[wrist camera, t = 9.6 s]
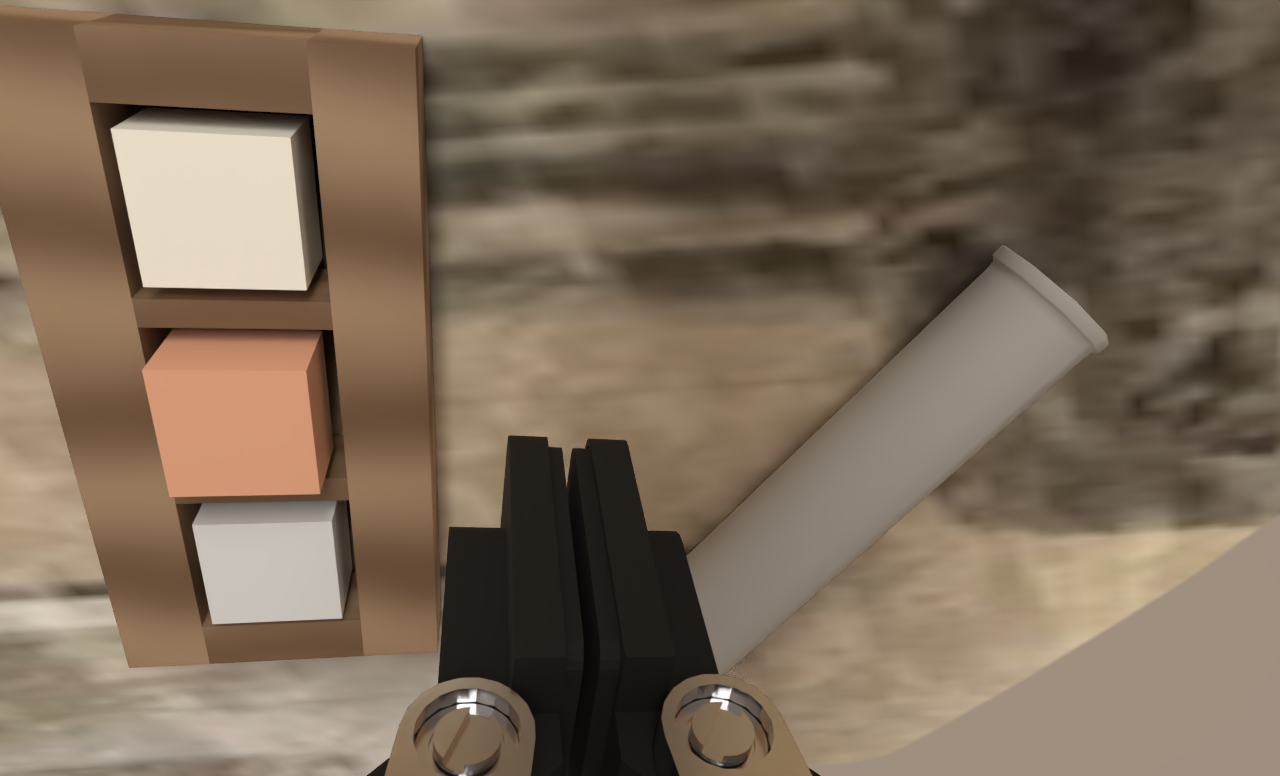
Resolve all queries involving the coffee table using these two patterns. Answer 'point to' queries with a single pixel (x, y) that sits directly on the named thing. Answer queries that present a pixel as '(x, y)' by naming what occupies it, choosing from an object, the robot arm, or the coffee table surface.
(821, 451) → the tube
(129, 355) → the wooden tray
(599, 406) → the coffee table surface
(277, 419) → the key mid
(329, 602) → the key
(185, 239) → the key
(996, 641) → the coffee table surface
